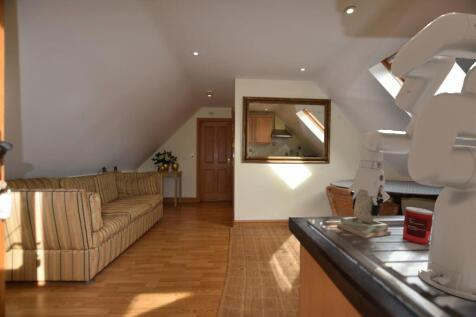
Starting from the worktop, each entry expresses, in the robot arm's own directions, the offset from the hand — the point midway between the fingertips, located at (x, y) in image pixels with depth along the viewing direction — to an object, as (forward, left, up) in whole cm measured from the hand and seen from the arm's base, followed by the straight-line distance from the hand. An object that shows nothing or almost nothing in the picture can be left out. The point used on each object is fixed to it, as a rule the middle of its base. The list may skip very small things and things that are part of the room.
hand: (365, 212), depth 90 cm
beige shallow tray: (0, 0, -7) cm, 7 cm away
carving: (0, 0, -3) cm, 3 cm away
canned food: (+10, -13, -7) cm, 18 cm away
